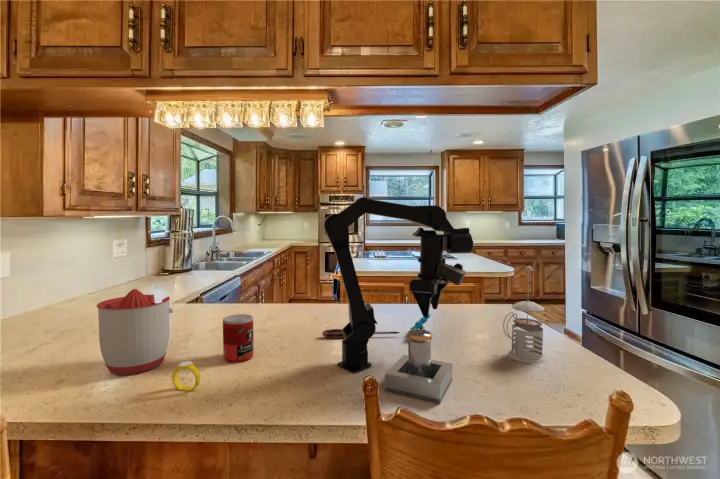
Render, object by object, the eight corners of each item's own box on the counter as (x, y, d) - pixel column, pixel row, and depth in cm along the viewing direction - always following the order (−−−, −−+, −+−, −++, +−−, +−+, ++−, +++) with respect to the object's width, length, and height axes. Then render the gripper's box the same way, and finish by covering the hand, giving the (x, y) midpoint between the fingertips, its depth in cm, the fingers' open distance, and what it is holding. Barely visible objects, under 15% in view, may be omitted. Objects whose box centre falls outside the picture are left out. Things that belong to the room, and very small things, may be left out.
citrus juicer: (190, 358, 96) (188, 284, 95) (125, 385, 80) (122, 297, 79) (151, 349, 102) (149, 280, 101) (84, 372, 86) (81, 291, 85)
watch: (170, 392, 77) (168, 366, 77) (179, 386, 80) (176, 361, 80) (195, 393, 76) (193, 366, 76) (203, 387, 79) (201, 360, 79)
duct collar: (385, 391, 77) (385, 373, 77) (403, 370, 88) (403, 354, 88) (439, 404, 72) (440, 384, 72) (452, 380, 83) (452, 363, 83)
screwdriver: (399, 335, 115) (399, 326, 115) (400, 338, 112) (400, 329, 112) (322, 336, 114) (322, 327, 114) (322, 339, 111) (322, 330, 111)
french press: (555, 362, 93) (558, 268, 92) (514, 365, 92) (517, 269, 90) (531, 349, 103) (533, 263, 102) (494, 351, 101) (496, 264, 100)
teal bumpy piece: (410, 325, 121) (430, 307, 117) (422, 338, 120) (443, 321, 116) (400, 339, 111) (422, 320, 107) (414, 353, 110) (436, 335, 106)
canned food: (241, 365, 91) (240, 323, 91) (216, 360, 94) (215, 320, 93) (259, 354, 98) (259, 315, 98) (236, 350, 101) (235, 312, 101)
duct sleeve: (402, 380, 80) (402, 333, 80) (417, 373, 84) (417, 328, 83) (421, 388, 76) (421, 338, 76) (436, 381, 80) (436, 333, 79)
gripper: (455, 259, 80) (454, 326, 81) (469, 252, 97) (468, 308, 98) (408, 256, 85) (408, 320, 86) (429, 250, 102) (428, 304, 103)
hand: (430, 312), depth 93 cm, fingers open, 9 cm apart
